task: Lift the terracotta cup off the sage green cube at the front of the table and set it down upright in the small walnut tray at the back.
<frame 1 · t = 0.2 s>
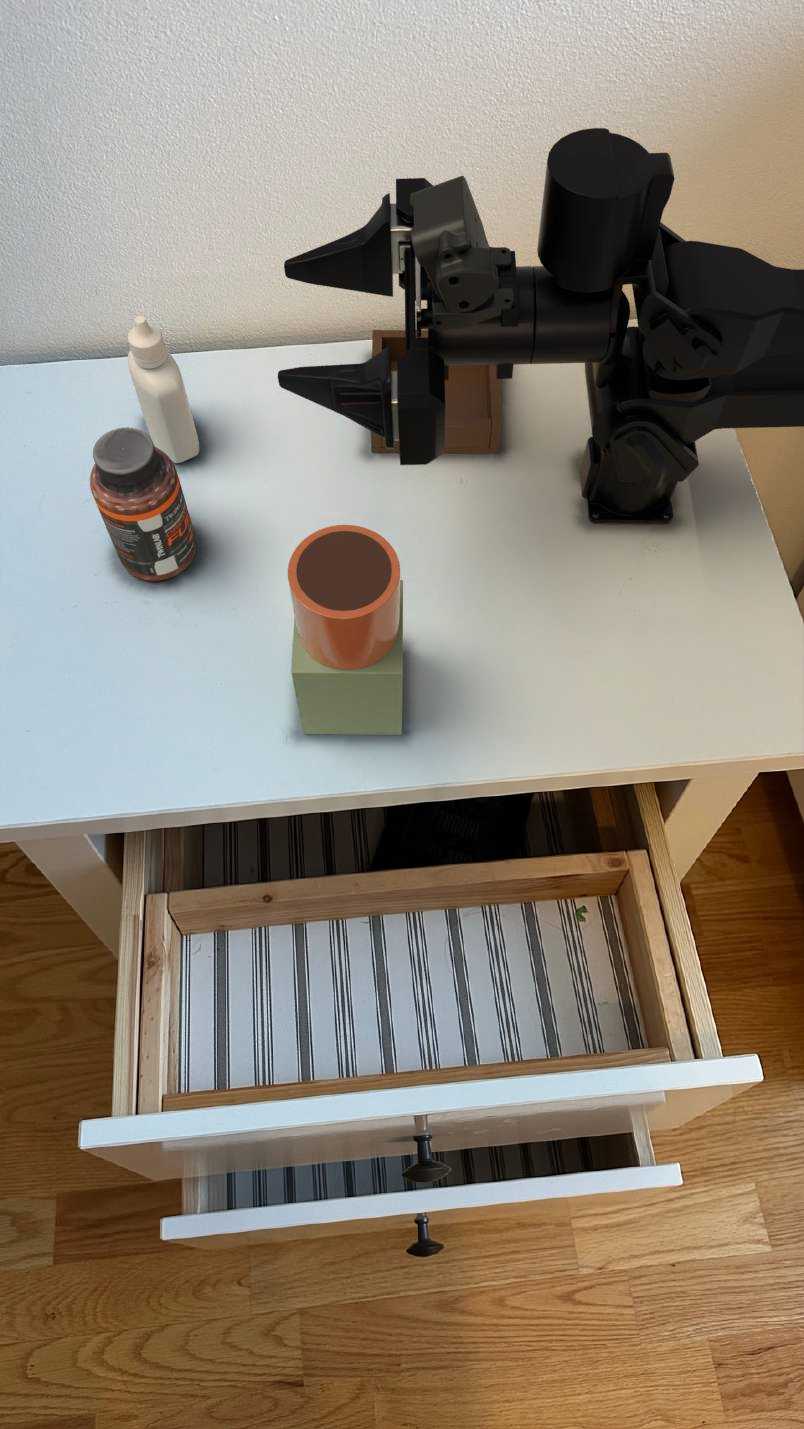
hand: (281, 322, 62), 17 cm above the table, tool horizontal, fingers open, 9 cm apart
eye dropper bottle: (175, 440, 79), on the table
sage green cube: (353, 691, 69), on the table
cup: (348, 625, 61), point 9 cm above the table, touching sage green cube
supplement bottle: (160, 553, 74), on the table
tray: (434, 404, 81), on the table
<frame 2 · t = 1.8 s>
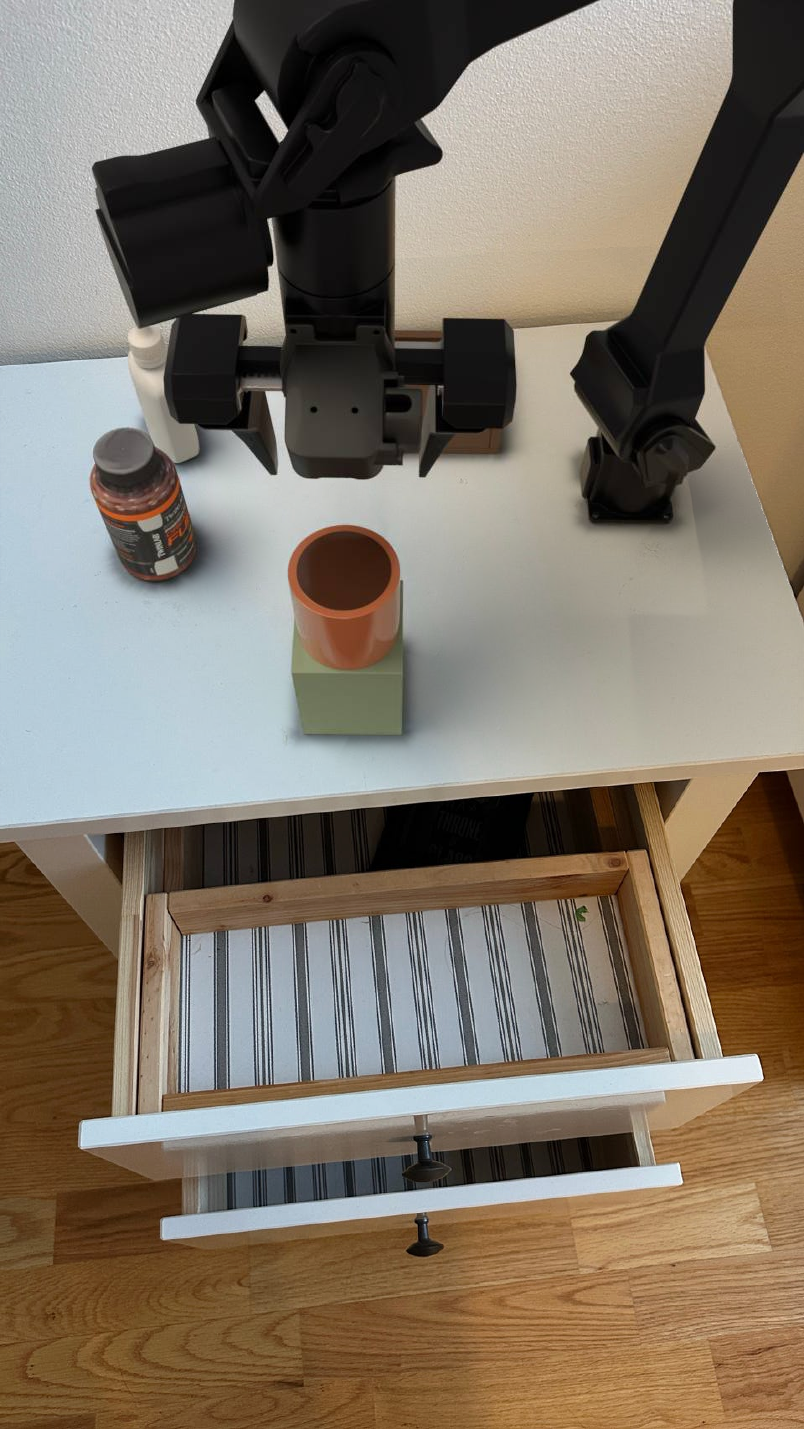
hand: (348, 471, 61), 13 cm above the table, tool pointing down, fingers open, 9 cm apart
nothing on the table moved.
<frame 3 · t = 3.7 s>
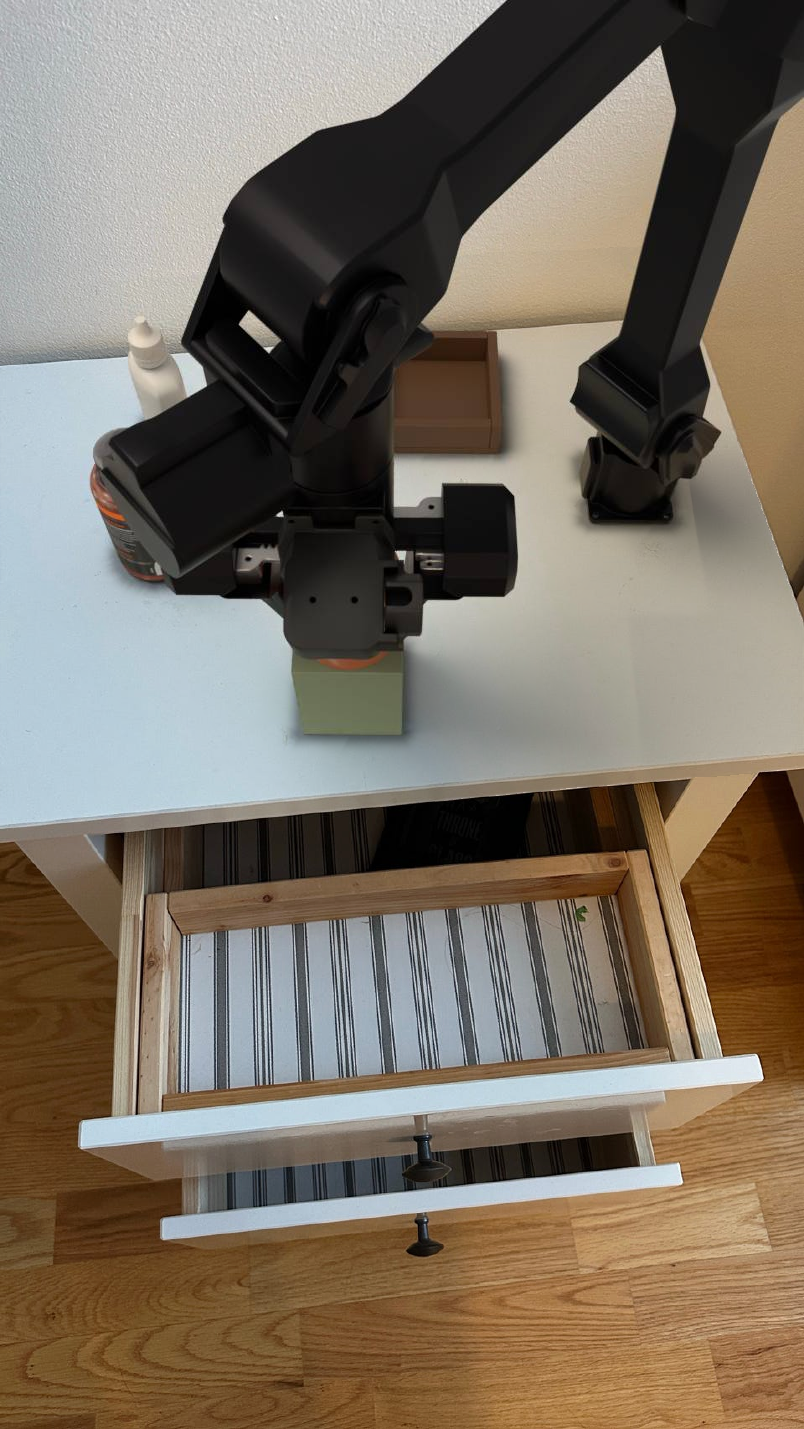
hand: (347, 618, 60), 10 cm above the table, tool pointing down, fingers closed on cup, 6 cm apart
cup: (348, 625, 61), point 9 cm above the table, touching gripper, sage green cube
everything else where it was.
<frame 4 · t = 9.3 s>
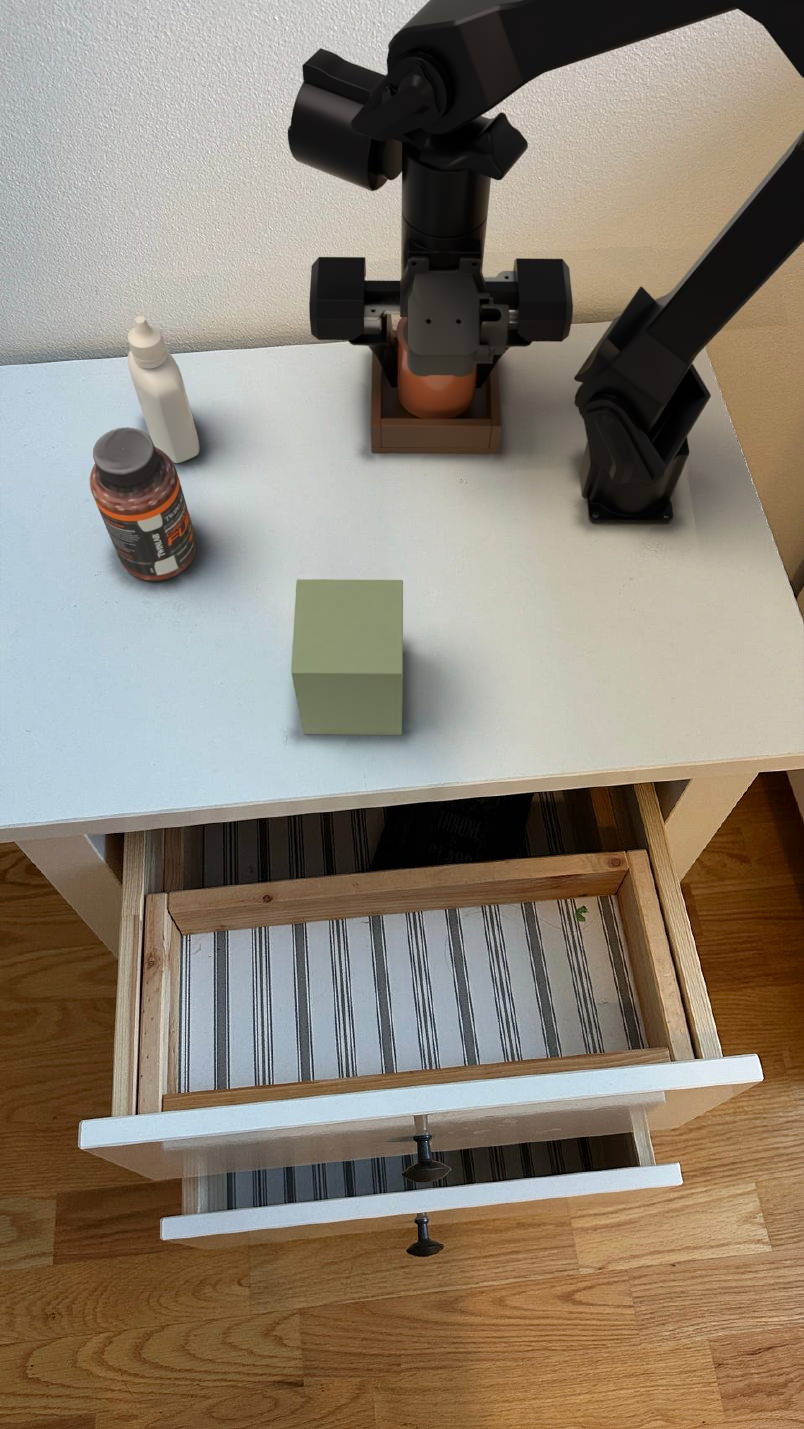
hand: (435, 384, 79), 2 cm above the table, tool pointing down, fingers closed on cup, 6 cm apart
cup: (435, 390, 79), point 2 cm above the table, touching gripper
everything else where it was.
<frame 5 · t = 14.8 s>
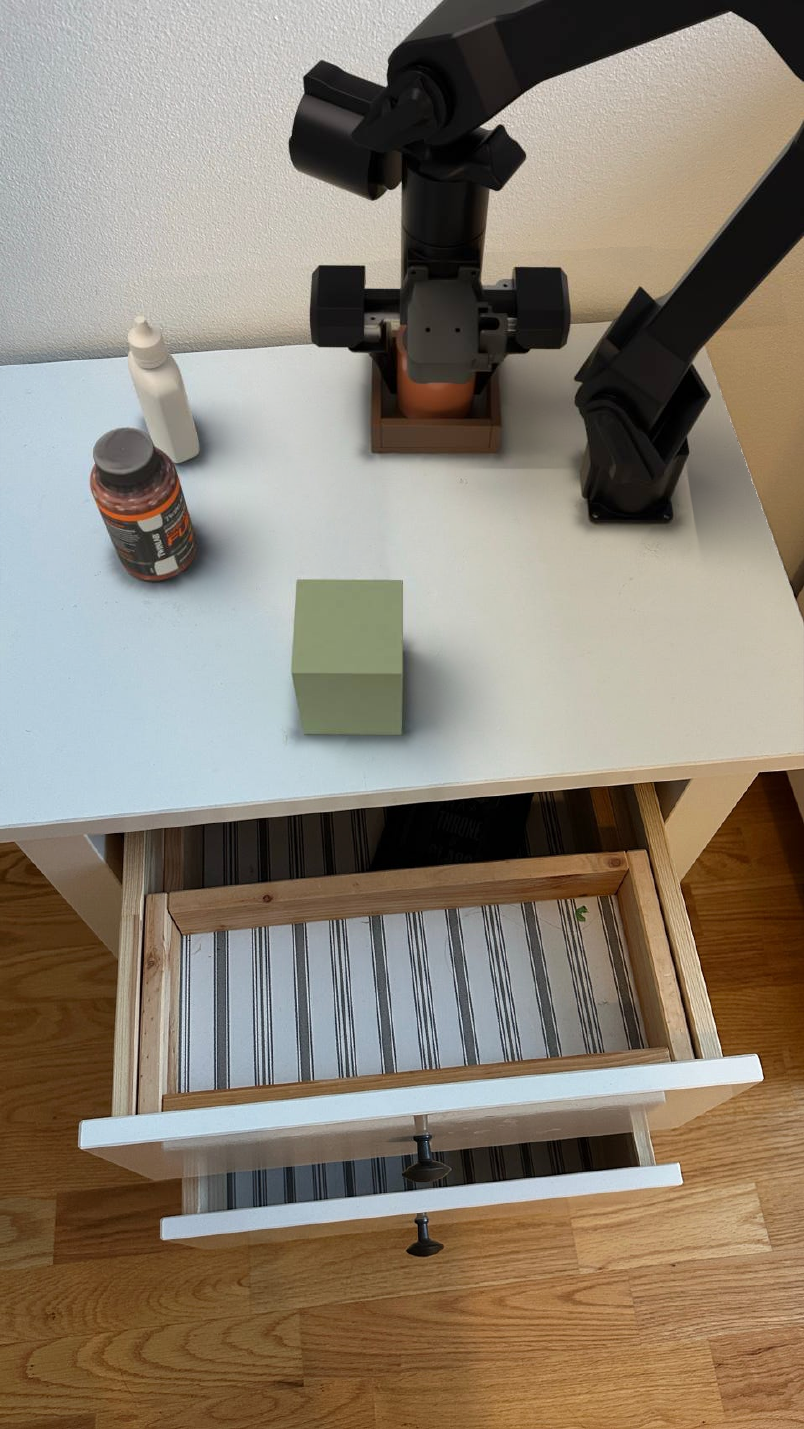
hand: (434, 390, 79), 2 cm above the table, tool pointing down, fingers closed on cup, 6 cm apart
cup: (434, 396, 80), point 1 cm above the table, touching gripper
everything else where it was.
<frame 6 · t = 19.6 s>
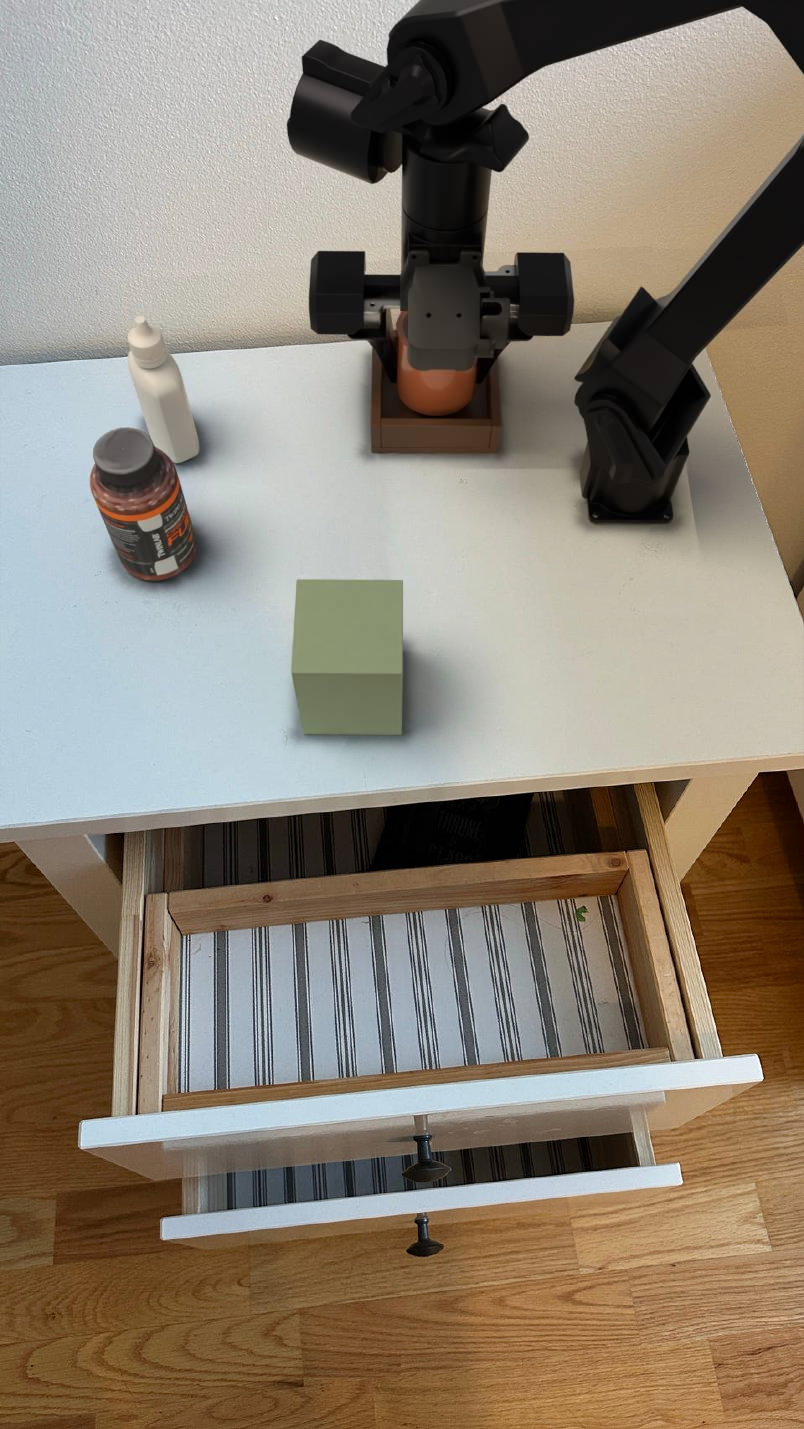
hand: (436, 379, 78), 3 cm above the table, tool pointing down, fingers closed on cup, 6 cm apart
cup: (435, 385, 79), point 2 cm above the table, touching gripper
everything else where it was.
when the fingers open (4 cm above the table, at t = 24.3 s): cup drops 2 cm, resting on tray.
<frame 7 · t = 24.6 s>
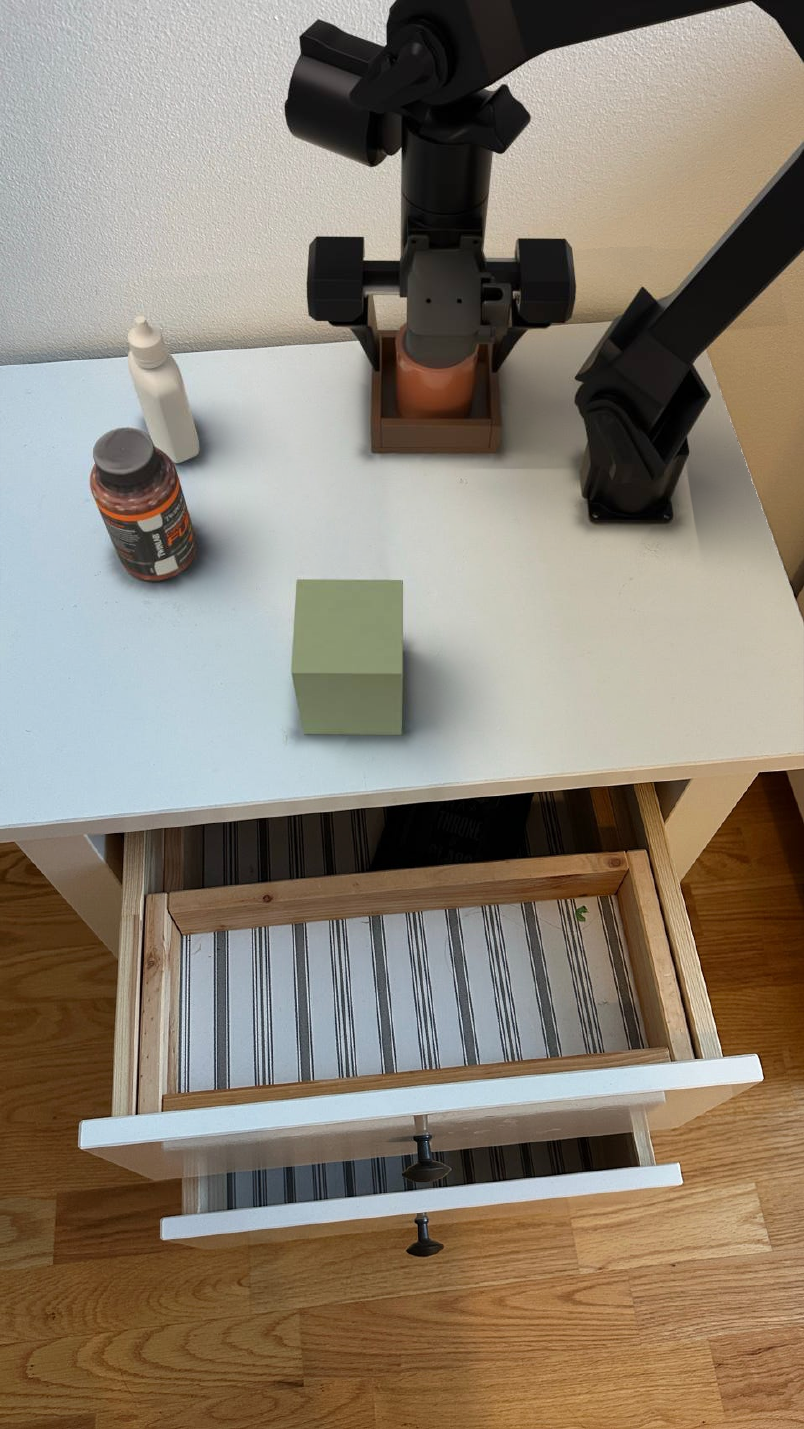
hand: (435, 368, 77), 4 cm above the table, tool pointing down, fingers open, 9 cm apart
cup: (434, 399, 80), point 1 cm above the table, touching tray
everything else where it was.
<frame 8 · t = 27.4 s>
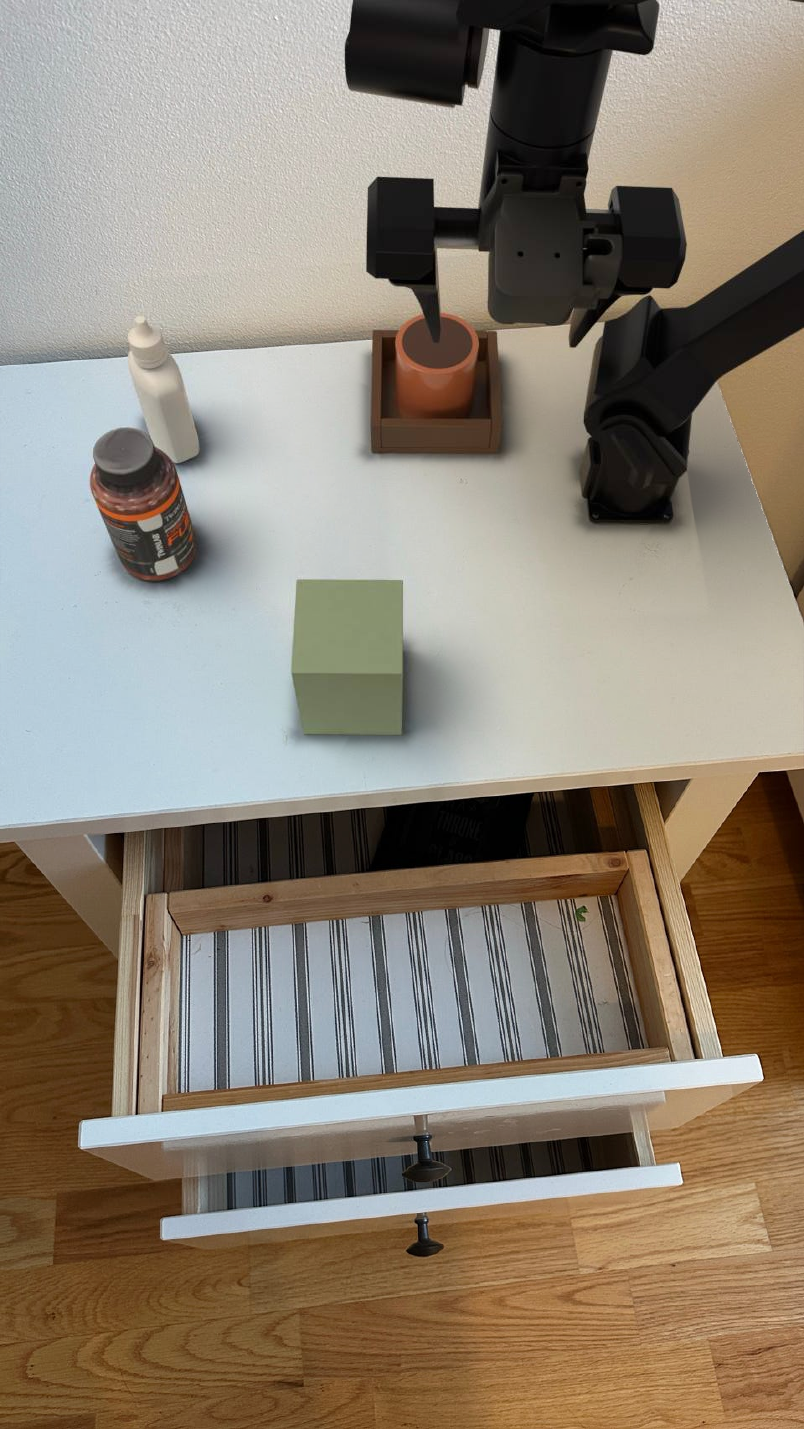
hand: (504, 341, 66), 13 cm above the table, tool pointing down, fingers open, 9 cm apart
nothing on the table moved.
at the end: cup inside the target area in the tray (0.0 cm from its centre), point 0.6 cm above the tray's base; cup tilted 0° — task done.
